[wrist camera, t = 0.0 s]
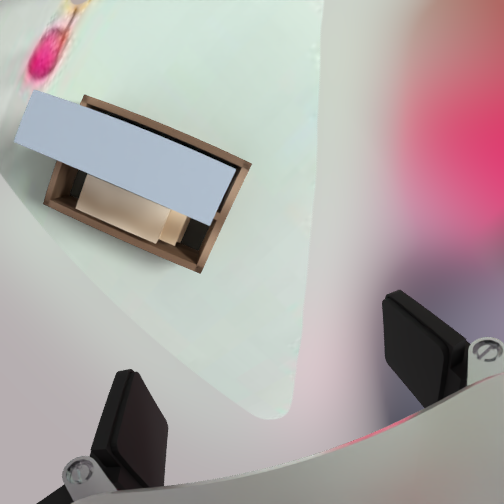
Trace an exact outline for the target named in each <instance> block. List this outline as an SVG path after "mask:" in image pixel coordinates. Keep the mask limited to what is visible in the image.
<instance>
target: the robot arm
mask: <svg viewBox="0 0 504 504" xmlns="http://www.w3.org/2000/svg"><path fill="white" fill-rule="evenodd" d="M382 309H383V324H384V345H385V359H386V361H387V363H388V365H389V366H390V367H391V368H392V370H393V371H394V372H395V373H396V374H397V375H398V377H399V378H400V379H401V380H402V381H403V383H404V384H405V385H406V386H407V387H408V389H409V390H410V391H411V392H412V393H413V395H414V396H415V397H416V398H417V400H418V401H419V402H420V403H421V404H422V405H423V407H424V409H422V410H420V411H418V412H416V413H415V414H412V415H410V416H408V417H406V418H404V419H402V420H400V421H398V422H396V423H393V424H392V425H389V426H387V427H385V428H382V429H380V430H378V431H375V432H373V433H371V434H368V435H366V436H364V437H361V438H358V439H356V440H353V441H351V442H348V443H345V444H343V445H340V446H338V447H335V448H332V449H329V450H326V451H323V452H320V453H317V454H314V455H311V456H308V457H304V458H301V459H298V460H295V461H291V462H288V463H284V464H280V465H277V466H273V467H269V468H265V469H261V470H257V471H252V472H248V473H244V474H239V475H234V476H229V477H224V478H219V479H213V480H207V481H201V482H194V483H186V484H179V485H171V486H164V475H165V461H166V448H167V437H168V424H167V422H166V419H165V418H164V416H163V414H162V413H161V411H160V409H159V408H158V406H157V404H156V403H155V401H154V399H153V398H152V396H151V394H150V392H149V391H148V389H147V387H146V385H145V384H144V382H143V380H142V378H141V376H140V374H139V373H138V372H134V371H133V370H132V369H128V370H123V371H118V372H117V373H116V375H115V378H114V381H113V384H112V387H111V389H110V392H109V395H108V398H107V401H106V404H105V407H104V410H103V413H102V416H101V419H100V422H99V425H98V428H97V431H96V434H95V438H94V441H93V444H92V447H91V454H90V457H89V456H81V457H77V458H75V459H73V460H72V461H70V462H69V463H68V464H67V465H66V466H65V468H64V471H63V473H62V478H63V482H64V485H63V486H62V487H60V488H59V489H57V490H56V491H54V492H53V493H51V494H50V495H49V496H47V497H46V498H44V499H43V500H42V501H40V502H38V503H37V504H504V343H503V342H502V341H500V340H498V339H496V338H490V337H484V338H480V339H477V340H475V341H474V342H472V343H471V344H470V343H468V342H467V341H466V339H465V338H464V337H463V336H462V335H460V334H459V333H458V332H456V331H455V330H454V329H453V328H451V327H450V326H449V325H447V324H446V323H445V322H443V321H442V320H441V319H439V318H438V317H437V316H435V315H434V314H433V313H431V312H430V311H429V310H427V309H426V308H424V307H423V306H422V305H421V304H419V303H418V302H416V301H415V300H414V299H412V298H411V297H410V296H408V295H407V294H405V293H404V292H403V291H401V290H397V291H395V292H392V293H390V294H387V295H386V297H385V299H384V300H383V301H382Z"/></svg>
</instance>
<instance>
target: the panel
mask: <svg viewBox="0 0 504 504" xmlns="http://www.w3.org/2000/svg"><path fill="white" fill-rule="evenodd" d="M14 142H15V143H18V144H20V145H22V146H25V147H27V148H30V149H32V150H34V151H37V152H39V153H41V154H44V155H46V156H48V157H51V158H53V159H55V160H58V161H60V162H63V163H65V164H67V165H70V166H72V167H74V168H77V169H79V170H81V171H84V172H86V173H88V174H91V175H93V176H95V177H98V178H100V179H102V180H105V181H107V182H109V183H112V184H114V185H116V186H119V187H121V188H123V189H126V190H128V191H130V192H133V193H135V194H137V195H140V196H142V197H144V198H146V199H149V200H151V201H153V202H156V203H158V204H160V205H163V206H165V207H167V208H170V209H172V210H174V211H176V212H179V213H181V214H183V215H186V216H188V217H190V218H193V219H195V220H197V221H199V222H202V223H204V224H206V225H209V226H210V225H211V222H212V220H213V218H214V216H215V214H216V211H217V209H218V207H219V205H220V203H221V201H222V199H223V196H224V194H225V192H226V190H227V188H228V186H229V184H230V182H231V180H232V177H233V175H234V173H235V171H236V169H234V168H232V167H230V166H228V165H226V164H224V163H221V162H219V161H217V160H215V159H212V158H210V157H208V156H206V155H203V154H201V153H199V152H197V151H194V150H192V149H190V148H187V147H185V146H183V145H181V144H178V143H176V142H173V141H171V140H169V139H166V138H164V137H162V136H159V135H157V134H154V133H152V132H149V131H147V130H144V129H142V128H139V127H137V126H134V125H132V124H129V123H127V122H124V121H122V120H119V119H116V118H114V117H111V116H109V115H106V114H103V113H101V112H98V111H95V110H92V109H90V108H87V107H84V106H81V105H79V104H76V103H73V102H70V101H67V100H64V99H61V98H58V97H55V96H52V95H49V94H46V93H43V92H40V91H37V90H34V91H33V93H32V95H31V98H30V100H29V102H28V105H27V107H26V110H25V112H24V115H23V117H22V120H21V123H20V125H19V128H18V131H17V133H16V136H15V139H14Z"/></svg>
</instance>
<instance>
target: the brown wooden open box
mask: <svg viewBox="0 0 504 504" xmlns="http://www.w3.org/2000/svg"><path fill="white" fill-rule="evenodd" d="M80 105H81V106H84V107H87V108H90V109H92V110H95V111H98V112H101V113H102V112H103V111H105V112H108V113H111V114H113V115H116V116H119V117H121V118H124V119H126V120H129V121H132V122H134V123H137V124H139V125H142V126H144V127H147V128H149V129H152V130H154V131H156V132H159V133H161V134H164V135H166V136H169V137H171V138H173V139H176V140H178V141H180V142H183V143H185V144H187V145H190V146H192V147H194V148H197V149H199V150H201V151H203V152H206V153H208V154H210V155H212V156H215V157H217V158H219V159H221V160H223V161H226V162H228V163H230V164H232V165H234V166H236V167H237V168H236V171H235V173H234V175H233V177H232V180H231V182H230V184H229V186H228V188H227V190H226V192H225V194H224V196H223V199H222V201H221V203H220V205H219V207H218V209H217V211H216V214H215V216H214V218H213V220H212V222H211V225H210V226H209V228H208V230H207V232H206V235H205V237H204V239H203V241H202V244H201V246H200V248H199V250H196V249H193V248H191V247H189V246H186V245H184V244H182V243H179V242H176V244H175V246H174V245H171V244H169V243H167V242H164V241H162V240H160V239H158V241H157V243H156V244H155V243H153V242H151V241H148V240H146V239H144V238H141V237H139V236H137V235H134V234H132V233H130V232H127V231H125V230H123V229H121V228H118V227H116V226H114V225H111V224H109V223H107V222H105V221H102V220H100V219H98V218H96V217H93V216H91V215H89V214H87V213H84V212H82V211H80V210H78V209H76V206H77V203H78V200H79V198H77V197H74V196H72V195H70V192H71V189H72V187H73V184H74V181H75V178H76V175H77V172H78V170H79V169H77V168H74V167H72V166H70V165H67V164H65V163H63V162H60V161H58V160H57V162H56V165H55V168H54V171H53V173H52V176H51V180H50V183H49V186H48V189H47V192H46V196H45V199H44V202H43V204H44V205H46V206H48V207H51V208H53V209H55V210H57V211H59V212H61V213H63V214H65V215H68V216H70V217H72V218H74V219H76V220H78V221H81V222H83V223H85V224H87V225H89V226H92V227H94V228H96V229H98V230H100V231H103V232H105V233H107V234H109V235H111V236H114V237H116V238H118V239H120V240H123V241H125V242H127V243H130V244H132V245H134V246H136V247H139V248H141V249H143V250H146V251H148V252H150V253H153V254H155V255H157V256H160V257H162V258H164V259H167V260H169V261H171V262H174V263H176V264H178V265H181V266H183V267H186V268H188V269H190V270H193V271H195V272H198V273H200V274H201V272H202V270H203V267H204V265H205V263H206V261H207V259H208V256H209V254H210V252H211V250H212V248H213V245H214V243H215V241H216V239H217V237H218V234H219V232H220V230H221V228H222V226H223V224H224V222H225V219H226V217H227V215H228V213H229V211H230V209H231V207H232V204H233V202H234V200H235V198H236V196H237V194H238V192H239V190H240V188H241V186H242V183H243V181H244V179H245V177H246V175H247V173H248V171H249V169H250V167H251V165H252V164H251V163H249V162H247V161H245V160H243V159H241V158H239V157H237V156H234V155H232V154H230V153H228V152H226V151H224V150H221V149H219V148H217V147H215V146H212V145H210V144H208V143H206V142H203V141H201V140H199V139H197V138H194V137H192V136H190V135H187V134H185V133H183V132H180V131H178V130H176V129H173V128H171V127H168V126H166V125H163V124H161V123H159V122H156V121H154V120H151V119H149V118H146V117H144V116H141V115H138V114H136V113H133V112H131V111H128V110H125V109H123V108H120V107H117V106H115V105H112V104H109V103H107V102H104V101H101V100H98V99H95V98H93V97H90V96H87V95H84V96H83V99H82V101H81V103H80Z"/></svg>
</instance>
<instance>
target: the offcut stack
mask: <svg viewBox="0 0 504 504" xmlns="http://www.w3.org/2000/svg"><path fill="white" fill-rule="evenodd" d="M76 209H78V210H80V211H82V212H84V213H87V214H89V215H91V216H93V217H96V218H98V219H100V220H102V221H105V222H107V223H109V224H111V225H114V226H116V227H118V228H121V229H123V230H125V231H127V232H130V233H132V234H134V235H137V236H139V237H141V238H144V239H146V240H148V241H151V242H153V243H155V244H156V243H157V241H158V239H160V240H162V241H164V242H167V243H169V244H171V245H174V246H175V244H176V242H179V243H181V240H182V238H183V235H184V233H185V231H186V228H187V226H188V224H189V221H190V219H191V218H190V217H188V216H186V215H183V214H181V213H179V212H176V211H174V210H172V209H170V208H167V207H165V206H163V205H160V204H158V203H156V202H153V201H151V200H149V199H146V198H144V197H142V196H140V195H137V194H135V193H133V192H130V191H128V190H126V189H123V188H121V187H119V186H116V185H114V184H112V183H109V182H107V181H105V180H102V179H100V178H98V177H95V176H93V175H91V174H87V177H86V179H85V182H84V185H83V188H82V191H81V194H80V197H79V200H78V203H77V206H76Z"/></svg>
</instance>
